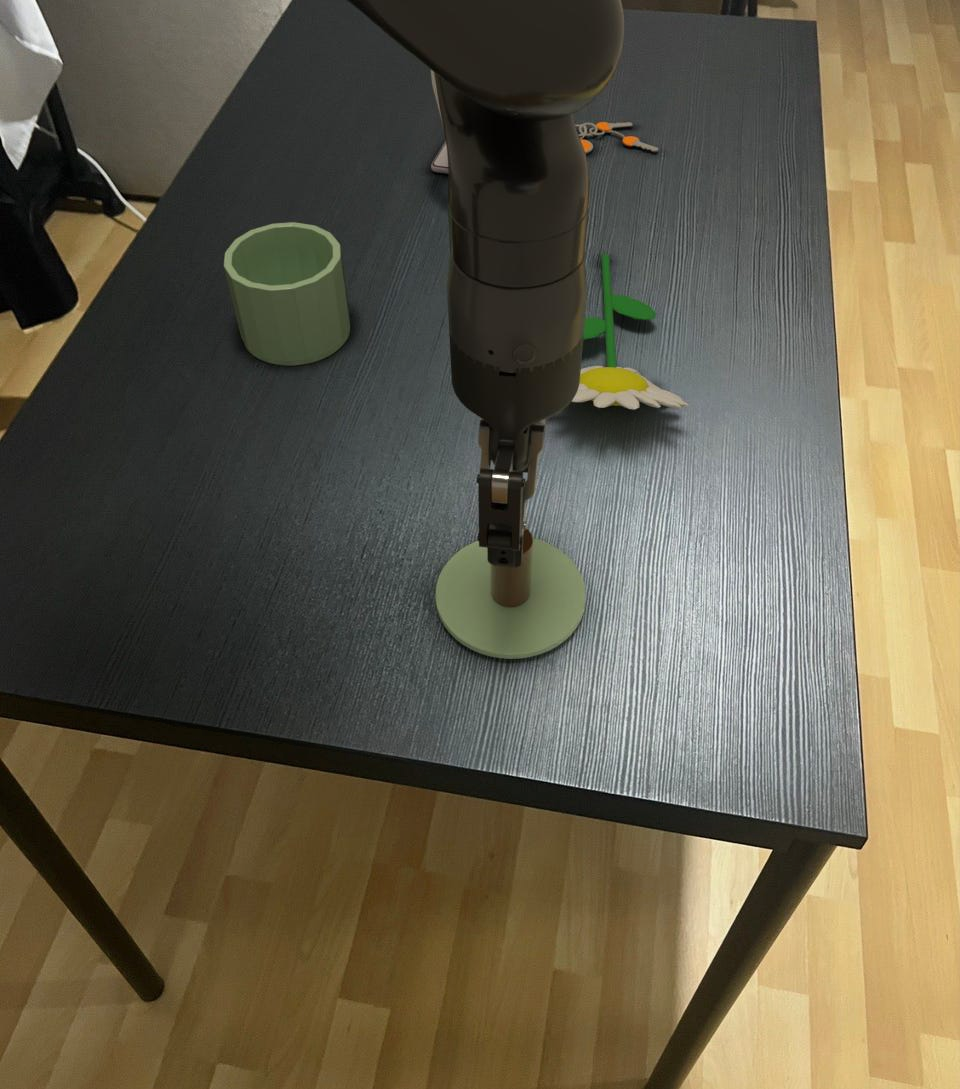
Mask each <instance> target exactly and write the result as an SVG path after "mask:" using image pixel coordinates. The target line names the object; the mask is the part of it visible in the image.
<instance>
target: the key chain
mask: <svg viewBox="0 0 960 1089" xmlns="http://www.w3.org/2000/svg"><path fill="white" fill-rule="evenodd" d="M575 126H576V128H578V133H579V134H578V135H579V137H580V140H581V143H582V145H583V148H584V151H585V154H586V155H587V154H589V153H591V152H592V151H593V149H594V144H593V143H592V142H591V141H589V140H587V139H584V138H585V137H593V136H599V137H600V136H603V135H604V134H606V133H607V134H609V133H610V134H613V135H617V136H619V137H621V138H622V141H621V142H622V143H623V145H624V146H627V147H636V148H641V149H643V150H647V151H651V152H652V153H653V152H655V153H656V152H658V151H659V149H660V148H659V147H656V146H655V145H651V144H648V143H645V142H642V141H641V140H640V138H639V137H637V136H632V135H628V136H626V135H624V134H623V133H622V132H619V131H616V130H613V129H616V128H627V127H633V126H634V125H633V123H632V122H629V121H626V122H619V121H617V122H616V123H615V122H607V121H599V122H597V123H596V124H595V123H593V122H583V123H582V124H576V123H575ZM588 126H589V127H590V128H589V130H588ZM598 131H599V132H598Z"/></svg>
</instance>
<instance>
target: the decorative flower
mask: <svg viewBox="0 0 960 1089" xmlns="http://www.w3.org/2000/svg"><path fill="white" fill-rule="evenodd" d="M600 256H601V257H600V258H601V274H602V275H601V277H602V294H603V296H602V297H603V316H604V319H603V318H600V317H585V322H584V334H583V341H584V340H588V339H593V338H596V337H599V336H600V335H603V334H604V335H605V351H606V353H605V354H606V366H603V365H593V366H592V365H591V366H586V367H584V368H581V372H580V383H579V388H578V391H577V393H576V395H575V397H574V398H573V400H572V401H571V402H572V403H585V402H587V401H588V402H589V401H592V402H593V406H594V407H596V408H598V409H602V408H607V407H611V406H614V407H615V406H617V407H618V406H620V407H623V408H626V409H627V410H628V409H629V410H633V411H635V410H637V409H640V403H642V404H645V405H647V406H649V407H652V408H656V409H660V408H661V406H664V407H668V408H674V409H680V408H683V407H684V408H685V407H690V405H689V404H688V403H687V402H685V401H684V399H683V398H682V397H681V396H679V395H677V394H675V393H673V392H671V391H668V390H665V389H662V388H660V387H659V386H658V385H655V383H652V382H651V381H650V380H649V379H647V377H645V376H643V375H641V373H640V372H639V371H638V370H637V369H634V368H633V367H626V366H625V367H622V366H617V356H616V355H617V354H616V353H617V352H616V340H615V326H614V325H615V324H614V312H617V313H619V314H620V315H623V316H626V317H629V318H631V319H633V320H641V321H649V320H654V319H655V320H656V317H657V316H656V315H657V312H656V311H655V310H654V309H653V308H652V307H651V306H650V305H648V304H647V303H645V302H643V301H641V300H638V299H635V298H633V297H631V296H627V295H622V294H621V295H620V294H612V280H611V279H612V278H611V265H610V255H609V254H608V253H603V254H602V255H600ZM571 402H570V403H571Z"/></svg>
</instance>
